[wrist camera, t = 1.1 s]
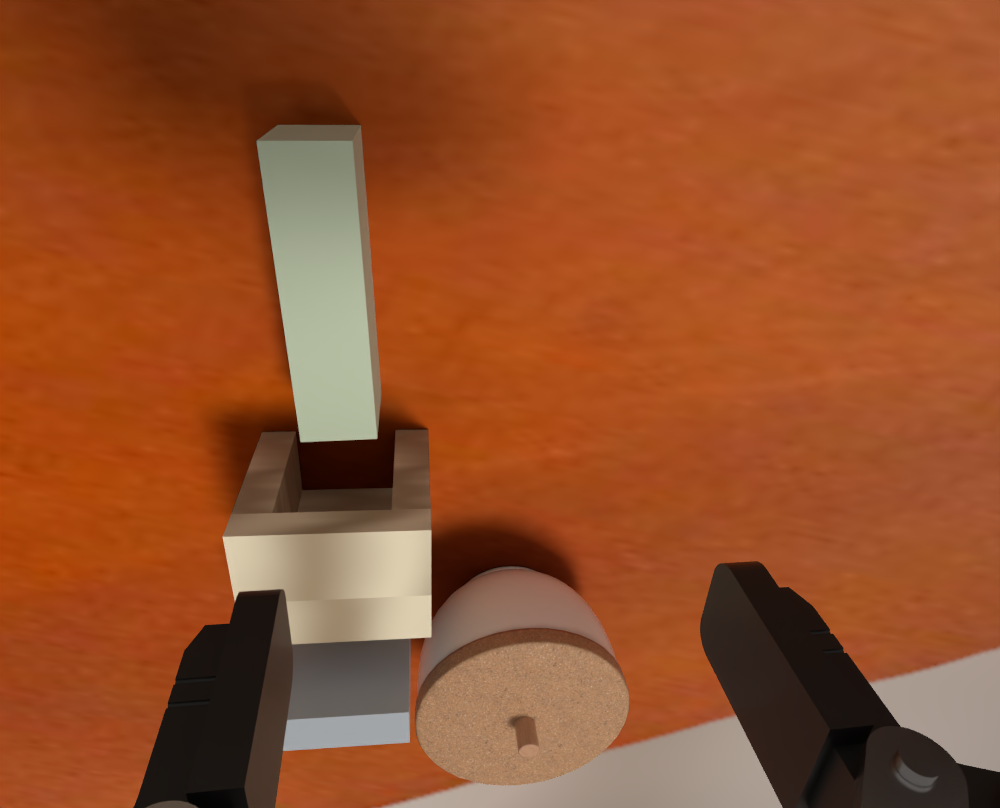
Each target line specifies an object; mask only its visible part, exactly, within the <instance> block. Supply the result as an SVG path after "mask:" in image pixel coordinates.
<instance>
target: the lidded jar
mask: <svg viewBox="0 0 1000 808" xmlns="http://www.w3.org/2000/svg"><path fill="white" fill-rule="evenodd" d="M629 702H630V699H629V691H628V687H627V684H626V681H625V678H624V675H623V673H622V670H621V668H620V666H619V664H618V663H617V660H616V657H615V655H614V652H613V649H612V647H611V644H610V641H609V639H608V636H607V634H606V632H605V630H604V628H603V626H602V624H601V623H600V621H599V620H598V618H597V616H596V615H595V613H594V612H593V610H592V609H591V607H590V606H589V604H588V603H587V602H586V601H585V600H584V599H583V598H582V597H581V596H580V595H579V594H578V593H577V592H576V591H575V590H574V589H572V588H571V587H569V586H568V585H566V584H565V583H563V582H562V581H560V580H558V579H556V578H554V577H552V576H550V575H547V574H544V573H540V572H537V571H535V570H532V569H529V568H525V567H519V566H505V567H498V568H493V569H490V570H487V571H485V572H483V573H480V574H478V575H477V576H475V577H474V578H472V579H471V580H470V581H468V582H467V583H466V584H465V585H463V586H462V587H460V588H459V589H458V590H456V591H455V592H454V593H453V594H452V595H451V596H450V597H449V598H448V599H447V600H446V601H445V603H444V604H443V605H442V606H441V607H440V609H439V610H438V612H437V613H436V615H435V617H434V618H433V620H432V622H431V637H428V638H425V640H424V644H423V647H422V651H421V657H420V664H419V671H418V685H417V699H416V708H415V728H416V735H417V738H418V741H419V743H420V745H421V747H422V748H423V750H424V751H425V753H426V754H427V755H428V756H429V757H430V758H431V760H432V761H433V762H434V763H435V764H436V765H438V766H439V767H441V768H442V769H444V770H446V771H447V772H449V773H451V774H453V775H455V776H457V777H460V778H463V779H466V780H469V781H473V782H478V783H483V784H493V785H521V784H528V783H535V782H540V781H545V780H549V779H552V778H555V777H558V776H561V775H564V774H566V773H568V772H571V771H573V770H576V769H577V768H579V767H581V766H583V765H584V764H586V763H588V762H590V761H591V760H592V759H594V758H595V757H597V756H598V755H600V754H601V753H602V752H603V751H604V750H605V749H606V748H607V747H608V746H609V745H610V744H611V743H612V742H613V741H614V739H615V738H616V737H617V736H618V734H619V732H620V731H621V729H622V727H623V725H624V723H625V720H626V717H627V714H628V711H629Z"/></svg>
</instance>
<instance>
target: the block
mask: <svg viewBox="0 0 1000 808" xmlns="http://www.w3.org/2000/svg"><path fill="white" fill-rule="evenodd" d="M223 541H224V546H225V552H226V557H227V562H228V568H229V573H230V578H231V584H232V589H233V594H234V600H236V597H237V595H238V593H239V592H242V591H259V590H275V589H283V590H284V592H285V596H286V603H287V611H288V618H289V626H290V634H291V641H292V644H309V643H329V642H349V641H369V640H388V639H408V638H428V637H431V504H430V473H429V442H428V429H426V430H396V432H395V453H394V474H393V488H368V489H327V490H302V482H301V473H300V464H299V455H298V446H297V437H296V431H294V432H262V433H261V436H260V438H259V441H258V444H257V446H256V449H255V452H254V454H253V457H252V460H251V463H250V465H249V468H248V471H247V473H246V476H245V479H244V481H243V484H242V487H241V489H240V492H239V495H238V497H237V500H236V503H235V505H234V508H233V511H232V513H231V516H230V519H229V521H228V524H227V527H226V529H225V532H224V535H223Z"/></svg>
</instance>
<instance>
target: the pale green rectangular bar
mask: <svg viewBox="0 0 1000 808" xmlns="http://www.w3.org/2000/svg"><path fill="white" fill-rule="evenodd" d="M256 142H257V149H258V156H259V163H260V169H261V176H262V183H263V190H264V197H265V203H266V210H267V217H268V224H269V231H270V238H271V244H272V251H273V258H274V265H275V272H276V278H277V285H278V292H279V299H280V306H281V312H282V319H283V326H284V333H285V340H286V346H287V353H288V360H289V367H290V374H291V380H292V387H293V394H294V401H295V408H296V414H297V421H298V428H299V435H300V442H318V441H341V440H364V439H377V437H378V426H379V415H380V403H381V381H380V368H379V355H378V342H377V329H376V316H375V303H374V290H373V277H372V264H371V251H370V238H369V225H368V212H367V198H366V185H365V172H364V159H363V146H362V133H361V125H277V126H276V127H274V128H273V129H271V130H270V131H269V132H267V133H266V134H265V135H263V136H262V137H261V138H259V139H258V140H257V141H256Z"/></svg>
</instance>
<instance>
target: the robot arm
mask: <svg viewBox="0 0 1000 808" xmlns="http://www.w3.org/2000/svg"><path fill="white" fill-rule="evenodd" d="M700 633H701V640H702V645H703V648H704V651H705V654H706V656H707V658H708V660H709V662H710V664H711V666H712V668H713V670H714V672H715V674H716V676H717V678H718V680H719V682H720V684H721V686H722V688H723V690H724V692H725V694H726V696H727V698H728V700H729V702H730V704H731V706H732V708H733V710H734V711H735V713H736V715H737V717H738V719H739V721H740V723H741V725H742V727H743V729H744V731H745V733H746V735H747V737H748V739H749V741H750V743H751V745H752V747H753V749H754V751H755V753H756V755H757V757H758V759H759V761H760V763H761V765H762V767H763V769H764V771H765V773H766V775H767V777H768V779H769V781H770V783H771V785H772V787H773V789H774V791H775V793H776V795H777V797H778V799H779V801H780V803H781V805H782V807H783V808H1000V772H996V771H990V770H986V769H981V768H976V767H972V766H967V765H963V764H958V763H956V761H955V760H954V759H953V758H952V757H951V755H950V754H949V753H948V752H947V751H946V750H944V749H943V748H942V747H941V746H940V745H938V744H937V743H936V742H934V741H933V740H931V739H930V738H928V737H926V736H924V735H923V734H921V733H919V732H916V731H914V730H911V729H908V728H904V727H900V725H899V724H898V723H897V721H896V720H895V719H894V717H893V716H892V714H891V713H890V712H889V710H888V709H887V708H886V706H885V705H884V704H883V702H882V701H881V699H880V698H879V696H878V695H877V694H876V692H875V691H874V690H873V688H872V687H871V685H870V684H869V683H868V681H867V680H866V679H865V677H864V676H863V674H862V673H861V672H860V670H859V669H858V668H857V666H856V665H855V663H854V662H853V661H852V659H851V658H850V657H849V655H848V654H847V653H844V651H843V647H842V646H841V644H840V643H839V641H838V640H837V639H836V637H835V636H834V635H833V634H830V629H829V628H828V626H827V625H826V623H825V622H824V621H823V619H822V618H821V617H820V615H819V614H818V612H817V611H816V610H815V608H814V607H813V606H812V605H811V604H809V603H808V602H807V601H806V600H804V599H803V598H802V597H800V596H799V595H798V594H797V593H795V592H794V591H793V590H792V589H790V588H789V587H783V588H779V587H778V585H777V584H776V582H775V581H774V579H773V578H772V576H771V575H770V574H769V572H768V571H767V569H766V568H765V567H764V565H762V564H761V563H760V562H757V561H754V562H738V563H722V564H719V565H717V566H716V568H715V570H714V573H713V577H712V581H711V585H710V588H709V592H708V596H707V599H706V603H705V607H704V611H703V614H702V618H701V624H700ZM175 680H176V682H175V685H173V688H172V691H171V695H170V698H169V701H168V708H167V709H166V710H165V714H164V717H163V720H162V723H161V726H160V729H159V732H158V736H157V739H156V742H155V745H154V748H153V751H152V754H151V758H150V761H149V764H148V767H147V770H146V773H145V777H144V780H143V783H142V786H141V789H140V792H139V795H138V798H137V801H136V803H135V806H134V808H275V803H276V796H277V789H278V782H279V775H280V768H281V760H282V753H283V746H284V739H285V732H286V725H287V718H288V710H289V703H290V696H291V689H292V680H293V649H292V641H291V634H290V626H289V618H288V611H287V603H286V596H285V592H284V590H283V589H275V590H259V591H242V592H239V593H238V595H237V597H236V600H235V604H234V608H233V612H232V616H231V620H230V624H217V625H205V626H204V627H203V629H202V630H201V631H200V632H199V634H198V635H197V636H196V637H195V638H194V640H193V641H192V642H191V643H190V645H189V646H188V647H187V648H186V649H185V651H184V654H183V657H182V660H181V663H180V666H179V669H178V673H177V676H176V679H175Z"/></svg>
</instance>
